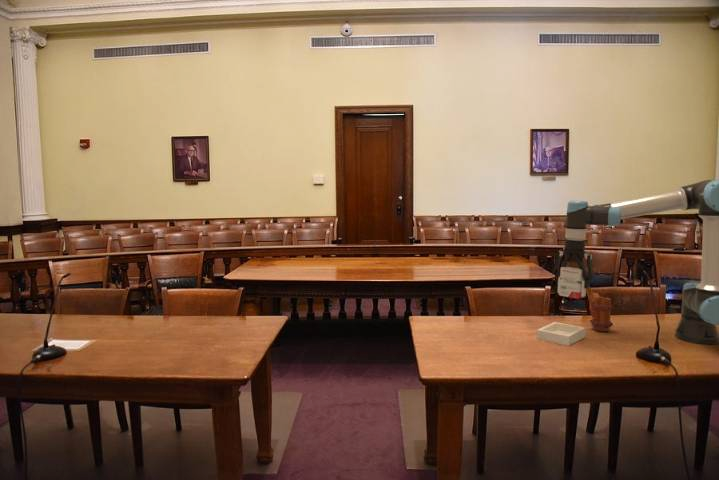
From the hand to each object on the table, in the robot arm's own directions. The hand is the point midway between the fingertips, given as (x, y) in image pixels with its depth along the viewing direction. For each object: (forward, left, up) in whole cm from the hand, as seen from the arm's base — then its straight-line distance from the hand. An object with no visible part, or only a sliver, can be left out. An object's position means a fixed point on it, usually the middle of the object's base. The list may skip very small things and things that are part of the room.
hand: (571, 294), depth 202 cm
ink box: (0, 0, -1) cm, 1 cm away
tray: (+3, +2, -18) cm, 19 cm away
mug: (-3, -23, -19) cm, 30 cm away
